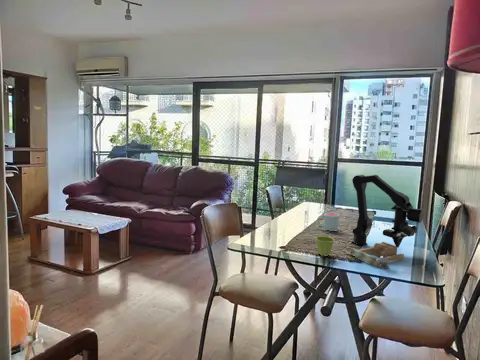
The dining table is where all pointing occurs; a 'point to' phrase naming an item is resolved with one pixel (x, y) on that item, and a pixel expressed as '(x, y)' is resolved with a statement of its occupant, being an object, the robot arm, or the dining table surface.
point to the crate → (384, 249)
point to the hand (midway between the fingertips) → (397, 247)
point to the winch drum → (383, 262)
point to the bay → (371, 260)
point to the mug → (330, 221)
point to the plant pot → (324, 245)
